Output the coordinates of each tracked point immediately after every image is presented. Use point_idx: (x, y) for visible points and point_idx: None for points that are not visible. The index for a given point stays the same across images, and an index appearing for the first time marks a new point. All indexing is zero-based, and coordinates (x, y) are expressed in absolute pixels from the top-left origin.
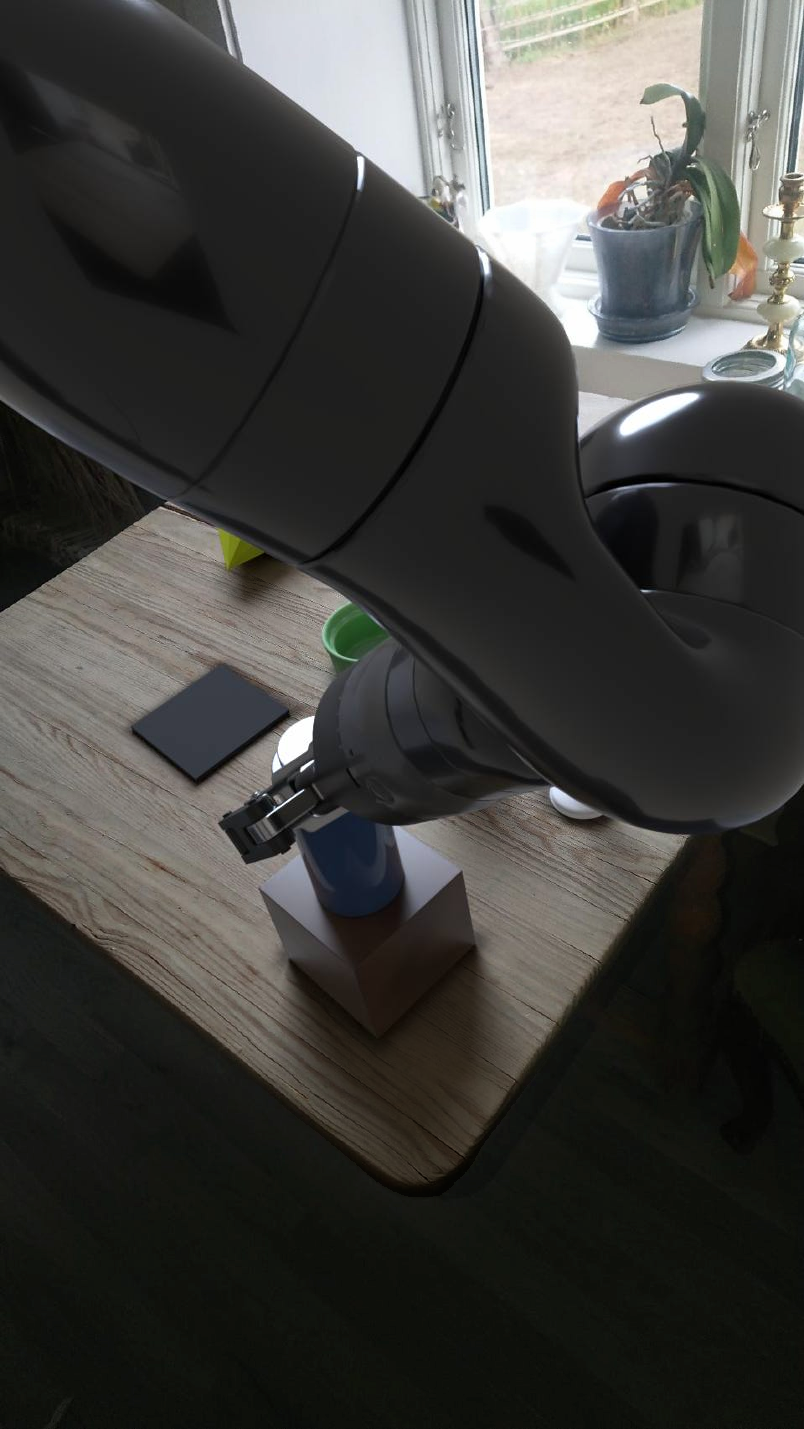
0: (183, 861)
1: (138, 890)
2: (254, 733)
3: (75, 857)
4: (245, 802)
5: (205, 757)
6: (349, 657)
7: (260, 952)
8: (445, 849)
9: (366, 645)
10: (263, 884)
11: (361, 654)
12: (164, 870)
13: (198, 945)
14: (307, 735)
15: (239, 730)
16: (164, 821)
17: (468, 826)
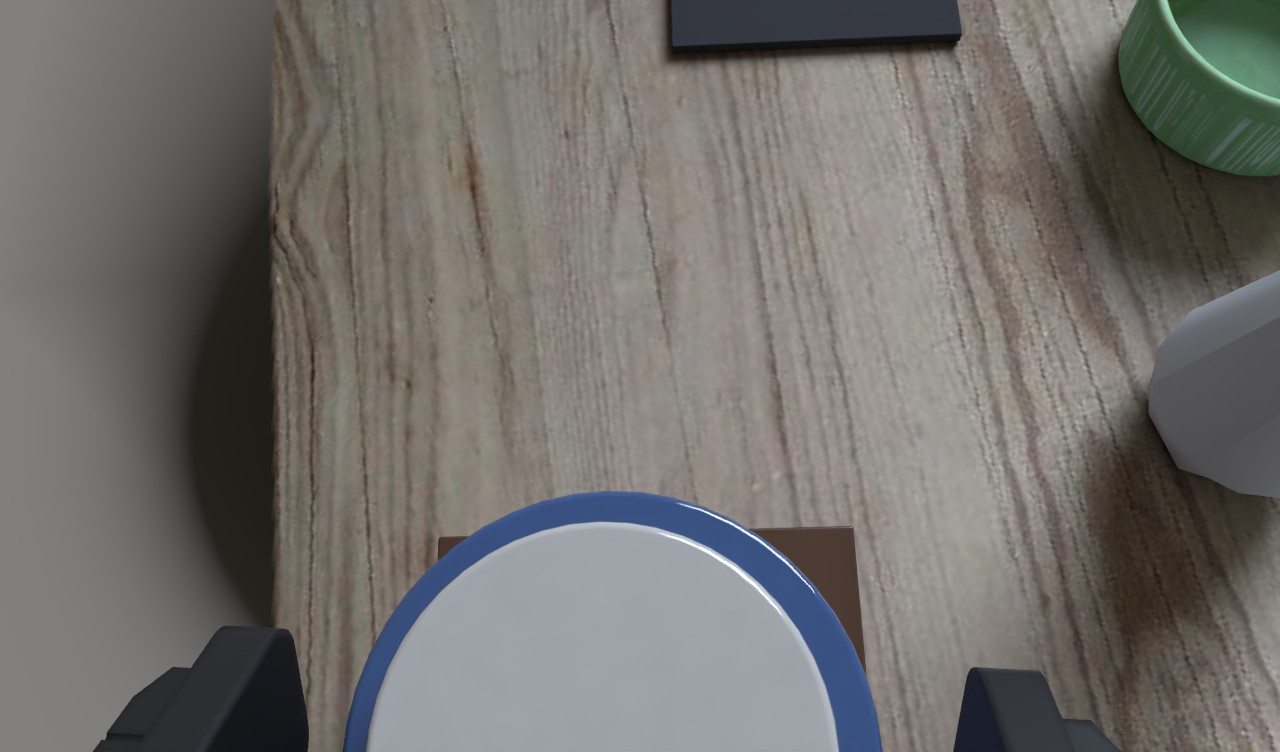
0: (514, 206)
1: (403, 198)
2: (854, 34)
3: (371, 35)
4: (213, 642)
5: (727, 12)
6: (1185, 7)
7: (470, 529)
8: (972, 651)
9: (1247, 6)
10: (454, 541)
11: (1217, 20)
12: (472, 195)
13: (394, 408)
14: (603, 657)
15: (833, 3)
16: (555, 90)
17: (1066, 644)
